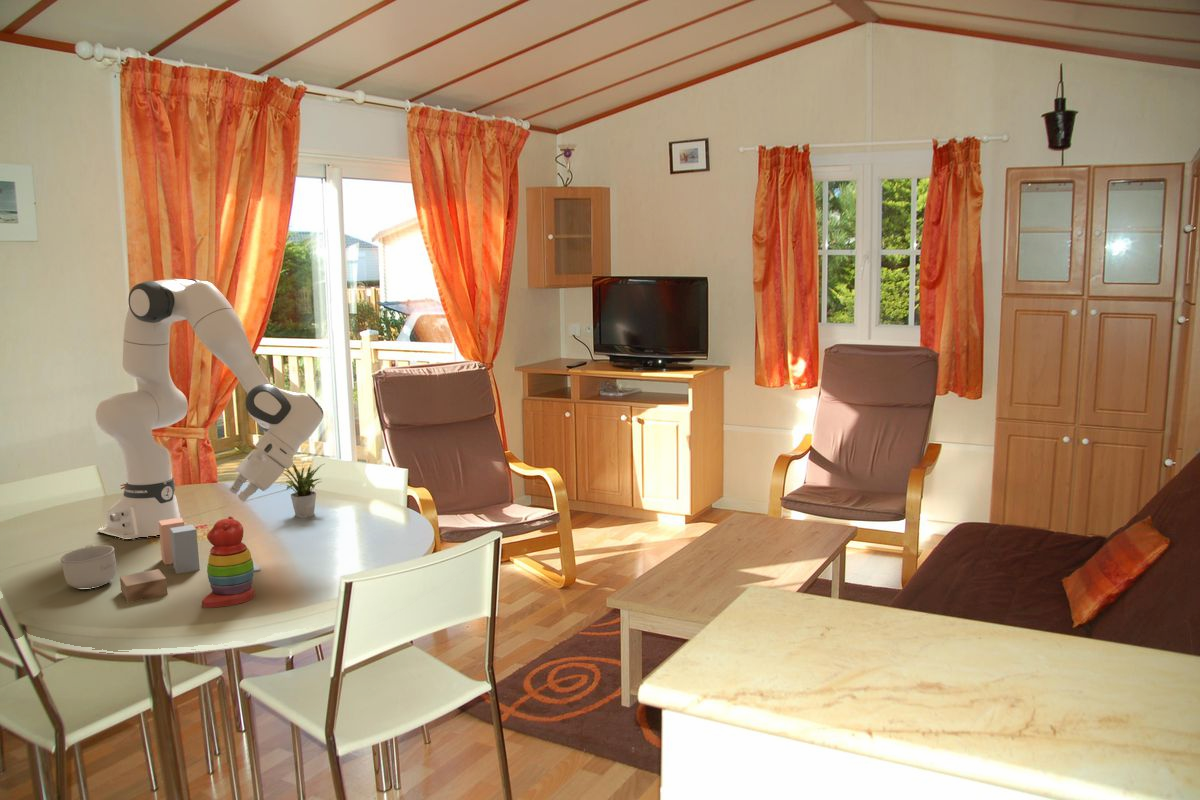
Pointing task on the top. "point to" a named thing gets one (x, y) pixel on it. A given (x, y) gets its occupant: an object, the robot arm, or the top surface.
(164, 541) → the terracotta pillar
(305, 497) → the house plant
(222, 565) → the stacking bear
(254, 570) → the slate swatch
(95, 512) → the top surface
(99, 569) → the teacup
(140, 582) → the walnut block
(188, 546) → the slate pillar
